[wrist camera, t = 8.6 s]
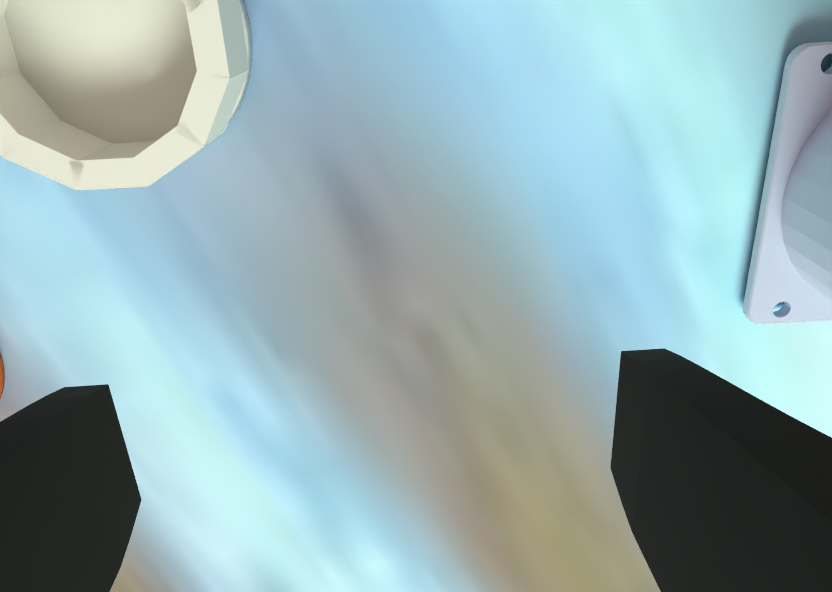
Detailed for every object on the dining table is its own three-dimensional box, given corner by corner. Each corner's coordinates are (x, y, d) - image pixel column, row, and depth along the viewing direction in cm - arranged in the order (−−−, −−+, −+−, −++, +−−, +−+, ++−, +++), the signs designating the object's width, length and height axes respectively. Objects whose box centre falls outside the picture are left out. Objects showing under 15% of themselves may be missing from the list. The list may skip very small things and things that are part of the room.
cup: (229, -115, 15) (195, -137, 13) (268, 155, 18) (246, 181, 16) (-40, -100, 16) (-127, -119, 13) (38, 168, 18) (-22, 195, 16)
